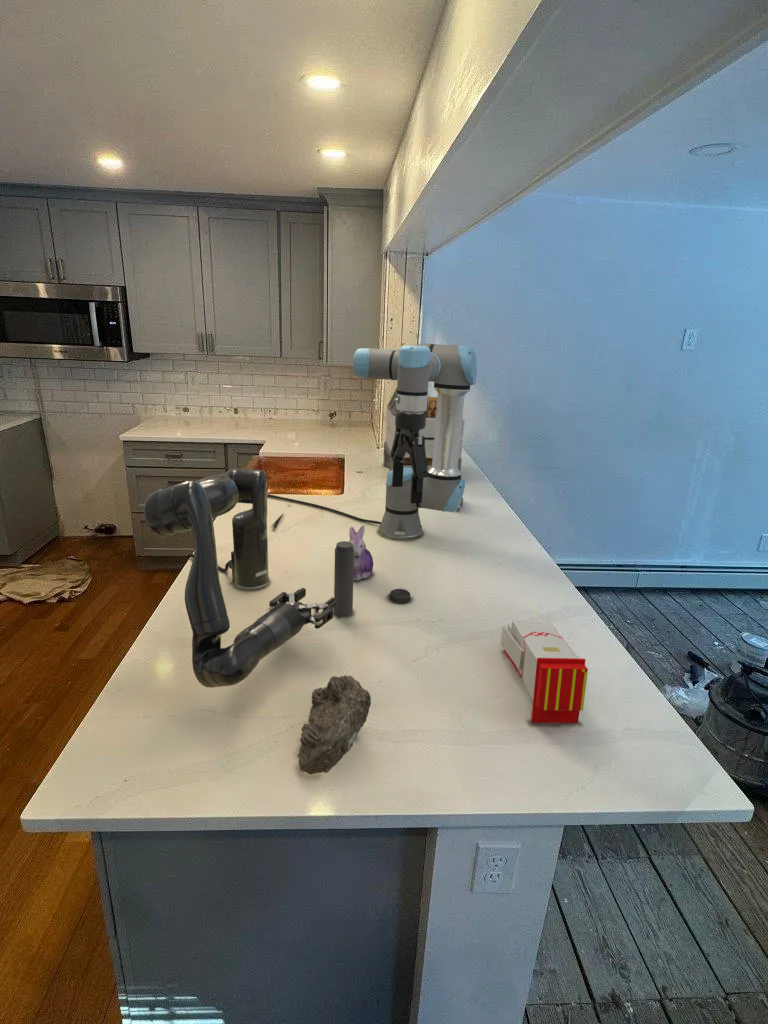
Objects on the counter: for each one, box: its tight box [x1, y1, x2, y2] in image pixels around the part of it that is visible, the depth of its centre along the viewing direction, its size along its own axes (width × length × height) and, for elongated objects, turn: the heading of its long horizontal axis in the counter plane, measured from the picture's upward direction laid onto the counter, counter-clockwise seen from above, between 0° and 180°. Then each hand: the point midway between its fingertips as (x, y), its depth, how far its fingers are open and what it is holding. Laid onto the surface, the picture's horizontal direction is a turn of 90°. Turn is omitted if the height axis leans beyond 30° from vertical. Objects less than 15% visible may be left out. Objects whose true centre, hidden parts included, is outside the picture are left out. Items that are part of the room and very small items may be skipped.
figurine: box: [348, 525, 374, 581], centre depth 166 cm, size 9×10×15 cm
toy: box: [500, 620, 589, 724], centre depth 121 cm, size 12×13×30 cm
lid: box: [389, 588, 411, 604], centre depth 155 cm, size 6×6×2 cm
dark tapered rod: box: [270, 513, 284, 530], centre depth 210 cm, size 2×28×2 cm
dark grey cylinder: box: [333, 540, 354, 618], centre depth 144 cm, size 5×5×19 cm
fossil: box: [296, 674, 372, 775], centre depth 103 cm, size 22×10×15 cm
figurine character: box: [456, 495, 464, 511], centre depth 230 cm, size 7×8×15 cm
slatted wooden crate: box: [383, 387, 465, 473], centre depth 268 cm, size 34×33×41 cm
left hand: (319, 596), depth 135 cm, fingers open, 8 cm apart
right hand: (406, 494), depth 146 cm, fingers open, 13 cm apart
